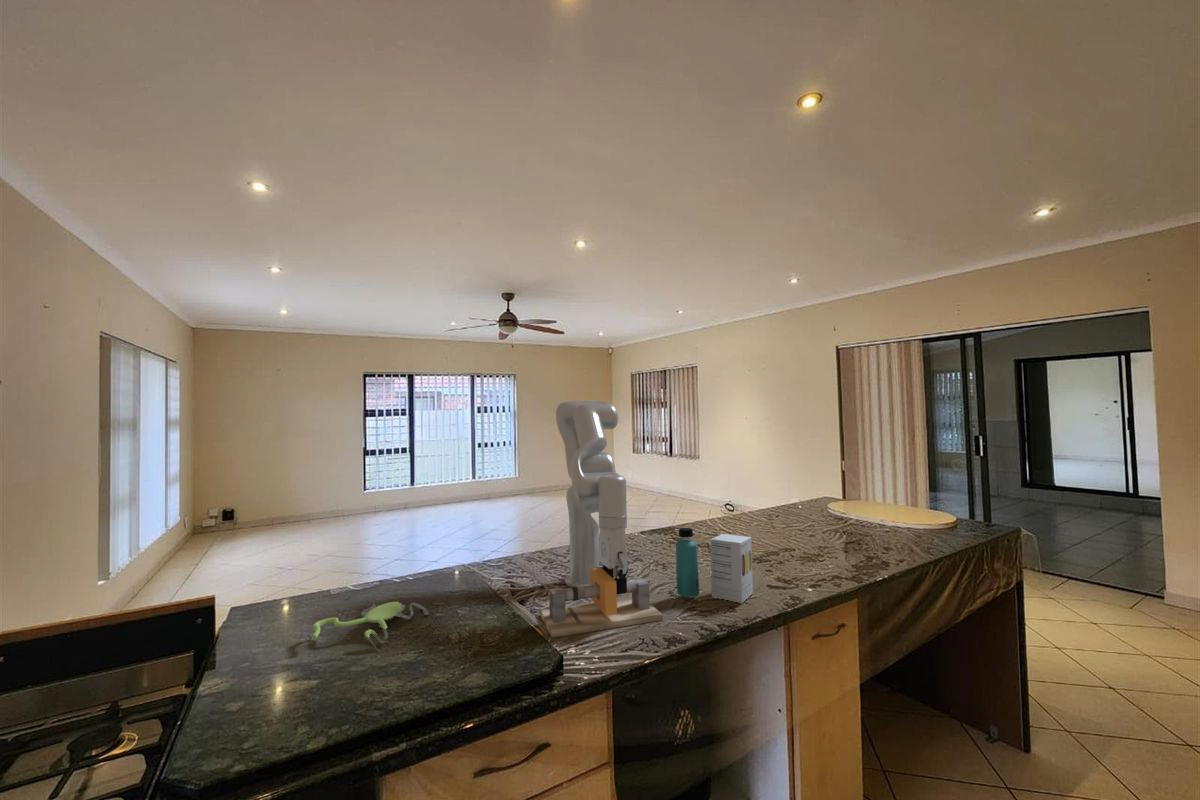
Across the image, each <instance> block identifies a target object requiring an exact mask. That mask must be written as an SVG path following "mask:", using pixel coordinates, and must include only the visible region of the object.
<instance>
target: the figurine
mask: <svg viewBox="0 0 1200 800" xmlns="http://www.w3.org/2000/svg"><path fill="white" fill-rule="evenodd" d="M399 602H400V601H390V602H386V603H383V604H380V605H377V607H375V608H373V609H372V610H370V611H369V612H368V613H367V614H366V616H365V617H364V618H362V617H361V618H357V619H353V620H348V621H339V618H338V617H328V618H327V617H326V618H324V619H321V620H318V621H316V622H315V623H313V626H312V629H313V631H314V632H313V633H312V634H311V635H312V636H311V639H312V641H316V640H317V638H318V637H319V635H320V634H321V626H325V625H327V624H334V626H335V627H338V628H349V627H353V626H357V625H361V624H364V623H367V622H368V623H373V624H376V623H378V625H379V624H380V625H381V629H382V628H383V629H386V628H388V625H387V621H388V619H390V618H392V617H393V616H395V615H396V614H397V613H398V612H399V611H400V610H401V603H399ZM392 619H393V618H392ZM386 620H387V621H386ZM385 621H386V622H385ZM363 634H364V637H365V638H366V637H368V638H369V637H370V638H371V636H370V635H372V634H376V635H378V634H377V632H376V631H375V630H373V629H369V628H368V629H367V630H366V631H365V632H364V633H363Z"/></svg>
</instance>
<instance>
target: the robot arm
mask: <svg viewBox="0 0 1200 800" xmlns="http://www.w3.org/2000/svg"><path fill="white" fill-rule="evenodd" d="M555 409H556V410H555V421H556V425H557V428H558V431H559V434H560V437H561V439H562V442H563V444H564V452H565V460H566V468H567V474H568V476H569V478H570V480H571V484H572V485H571V486H569V487H568V489H567V490H566V496H565V497H566V505H567V510H568V521H569V527H568V528H569V575H568V576H567V577H565V581H564V583H565V584H566V586H568V587H569V588H571V587H582V586H590V568H595V567H600V565H601V568H602V569H603V570H604V571H605V572H606V573H608V574H609V575H610V576H611V577H612V578H613V579H614V580H615V581H616V585H617V595H623V594H628V593H627V581H628V580H627V578H628V567H629V564H628V549H627V548H628V546H627V536H626V529H627V528H628V521H627V520H628V514H627V513H628V512H627V510H628V509H627V508H628V507H627V480H626V478H625V476H623V475H621V474H619V473H617V472H616V466H615V462H614V459H613V456H612V455H611V454H610V453H609V452H605V451H604V450H605V449H606V447H607V445H608V441H607V438H606V433H605V430H613V429H615V428H616V427H617V426H618V423H619V416H618V414H619V413H618V411H617V408H616V407H615V406H614V405H613V404H612V403H610V402H606V401H604V400H603V401H602V400H567V401H563V402H561V403H559V404H558V405H557V407H556V408H555ZM595 513H598V522H597V521H596V519H595V518H594V517H593V516H592V514H595ZM618 570H619V571H618Z"/></svg>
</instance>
